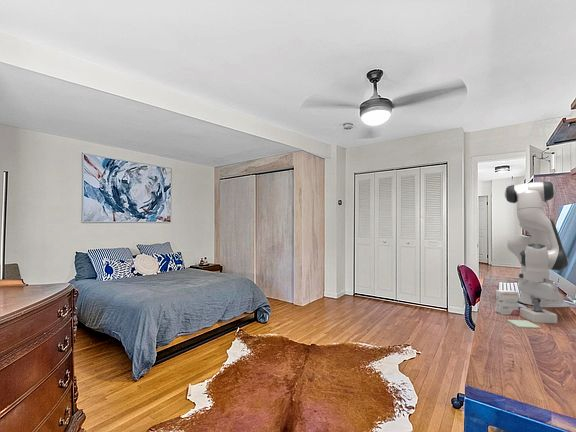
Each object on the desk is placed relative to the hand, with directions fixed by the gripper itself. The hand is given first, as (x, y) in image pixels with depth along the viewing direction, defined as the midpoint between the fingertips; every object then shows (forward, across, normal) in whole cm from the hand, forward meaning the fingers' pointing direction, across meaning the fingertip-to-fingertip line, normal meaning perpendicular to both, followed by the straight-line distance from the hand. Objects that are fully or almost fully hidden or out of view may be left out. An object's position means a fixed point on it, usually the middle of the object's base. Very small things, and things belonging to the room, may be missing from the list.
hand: (538, 305), depth 142 cm
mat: (+7, -8, +13) cm, 17 cm away
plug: (+7, 0, 0) cm, 7 cm away
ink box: (+7, +9, +8) cm, 14 cm away
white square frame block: (+7, 0, 0) cm, 7 cm away
